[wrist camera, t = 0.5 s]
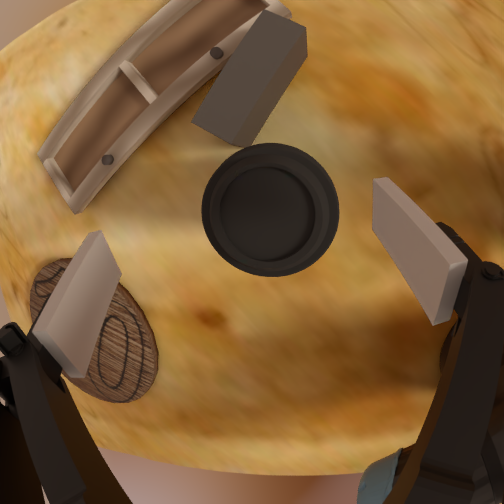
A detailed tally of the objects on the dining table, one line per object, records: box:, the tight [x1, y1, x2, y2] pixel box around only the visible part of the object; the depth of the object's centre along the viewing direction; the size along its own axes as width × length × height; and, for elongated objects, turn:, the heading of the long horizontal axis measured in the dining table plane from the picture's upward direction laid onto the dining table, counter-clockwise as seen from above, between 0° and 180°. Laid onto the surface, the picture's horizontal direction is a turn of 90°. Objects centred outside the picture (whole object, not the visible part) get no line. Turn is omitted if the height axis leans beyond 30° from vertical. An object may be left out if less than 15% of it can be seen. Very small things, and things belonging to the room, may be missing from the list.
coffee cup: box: [202, 143, 339, 277], centre depth 26 cm, size 9×9×15 cm
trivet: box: [30, 258, 158, 403], centre depth 43 cm, size 25×25×2 cm
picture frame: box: [191, 9, 307, 148], centre depth 26 cm, size 4×12×8 cm, turn 149°
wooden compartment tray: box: [37, 0, 292, 215], centre depth 30 cm, size 11×34×4 cm, turn 129°
